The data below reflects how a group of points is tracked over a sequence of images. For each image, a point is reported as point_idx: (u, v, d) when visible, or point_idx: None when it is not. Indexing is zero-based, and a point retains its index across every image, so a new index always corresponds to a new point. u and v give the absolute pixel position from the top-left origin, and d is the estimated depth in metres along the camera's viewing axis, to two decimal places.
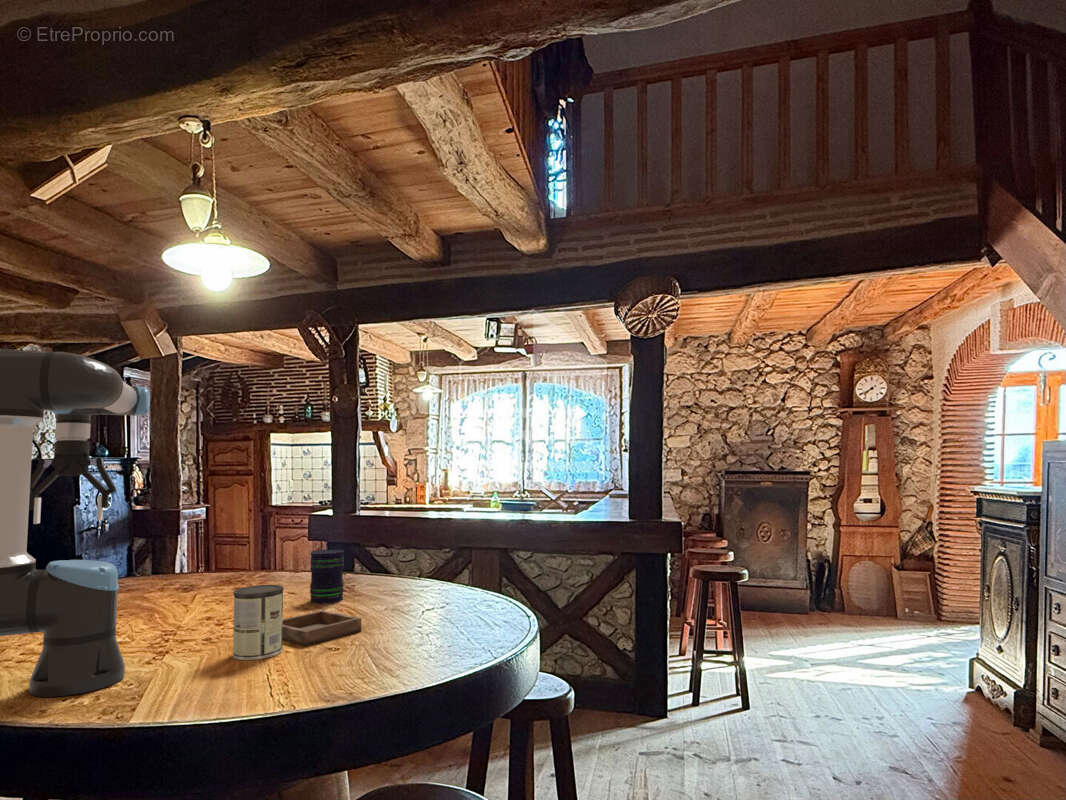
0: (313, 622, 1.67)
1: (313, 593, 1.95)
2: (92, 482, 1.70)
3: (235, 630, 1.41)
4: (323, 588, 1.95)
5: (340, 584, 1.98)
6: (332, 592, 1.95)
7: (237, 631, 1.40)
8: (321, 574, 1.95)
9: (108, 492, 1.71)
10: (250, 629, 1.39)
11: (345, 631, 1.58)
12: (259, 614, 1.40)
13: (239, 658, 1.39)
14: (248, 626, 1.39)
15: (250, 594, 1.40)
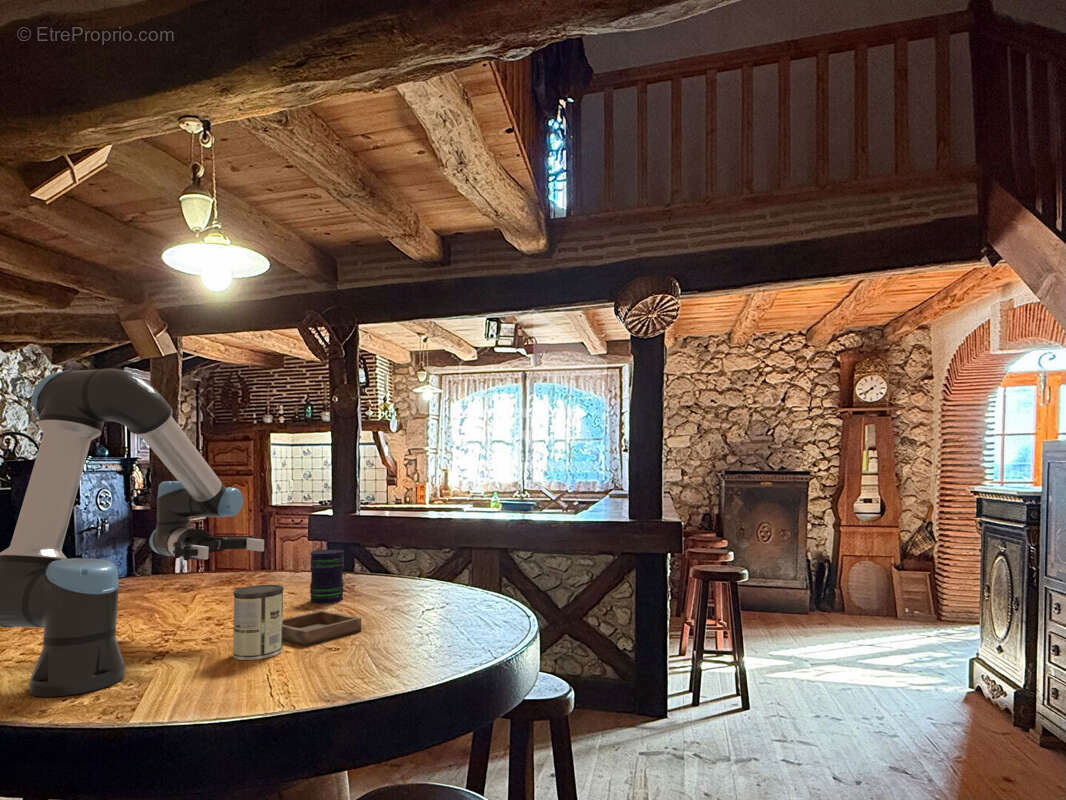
0: (313, 622, 1.67)
1: (313, 593, 1.95)
2: (233, 539, 1.62)
3: (235, 630, 1.41)
4: (323, 588, 1.95)
5: (340, 584, 1.98)
6: (332, 592, 1.95)
7: (237, 631, 1.40)
8: (322, 574, 1.95)
9: None
10: (251, 629, 1.39)
11: (345, 631, 1.58)
12: (259, 614, 1.40)
13: (239, 658, 1.39)
14: (248, 626, 1.39)
15: (250, 594, 1.40)
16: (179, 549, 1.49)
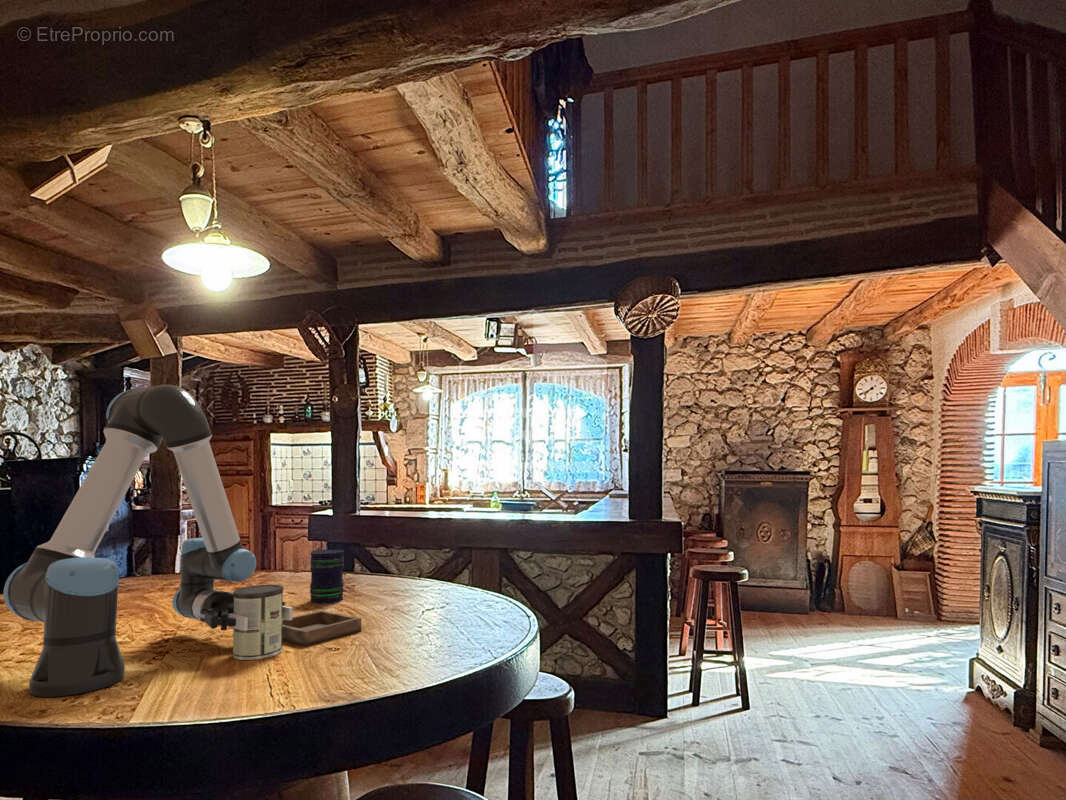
0: (313, 622, 1.67)
1: (313, 593, 1.95)
2: None
3: (235, 630, 1.41)
4: (323, 588, 1.95)
5: (340, 584, 1.98)
6: (332, 592, 1.95)
7: (237, 631, 1.40)
8: (321, 574, 1.95)
9: None
10: (250, 629, 1.39)
11: (345, 631, 1.58)
12: (259, 614, 1.40)
13: (239, 658, 1.39)
14: (248, 626, 1.39)
15: (250, 594, 1.40)
16: (216, 618, 1.40)
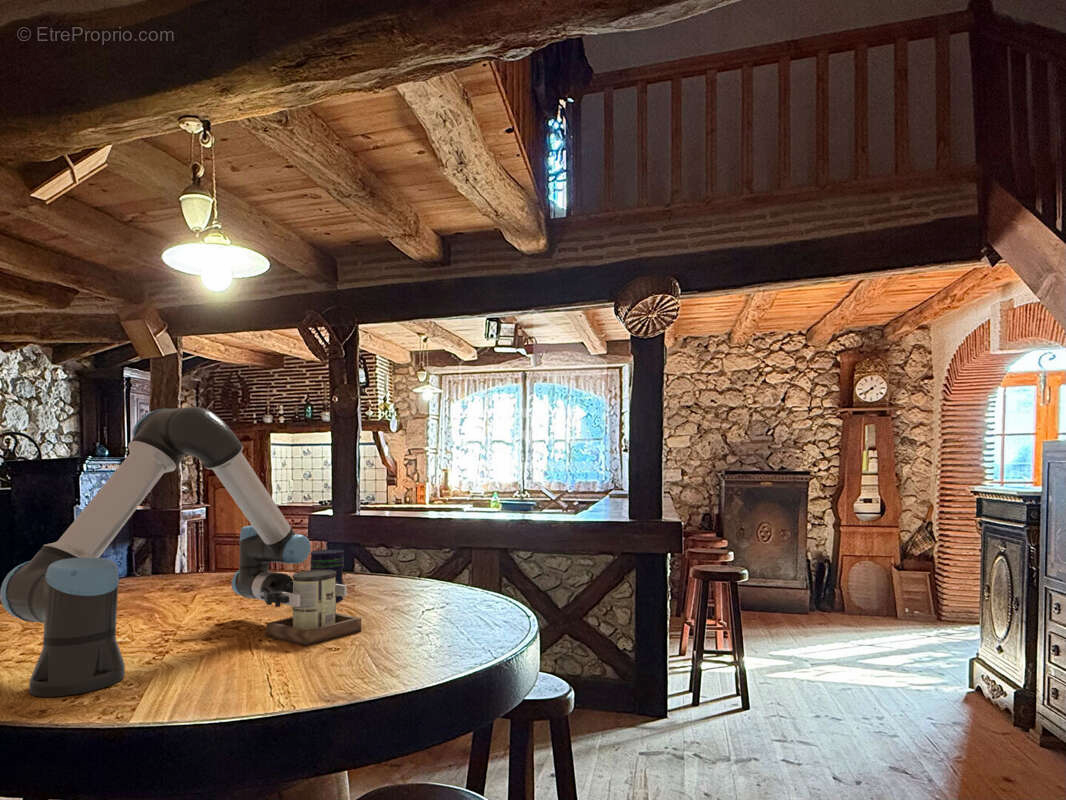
0: None
1: None
2: None
3: (295, 610, 1.57)
4: None
5: None
6: None
7: (297, 610, 1.56)
8: None
9: None
10: (309, 609, 1.55)
11: (345, 631, 1.58)
12: (317, 595, 1.56)
13: None
14: (307, 606, 1.55)
15: (308, 577, 1.56)
16: (271, 596, 1.56)
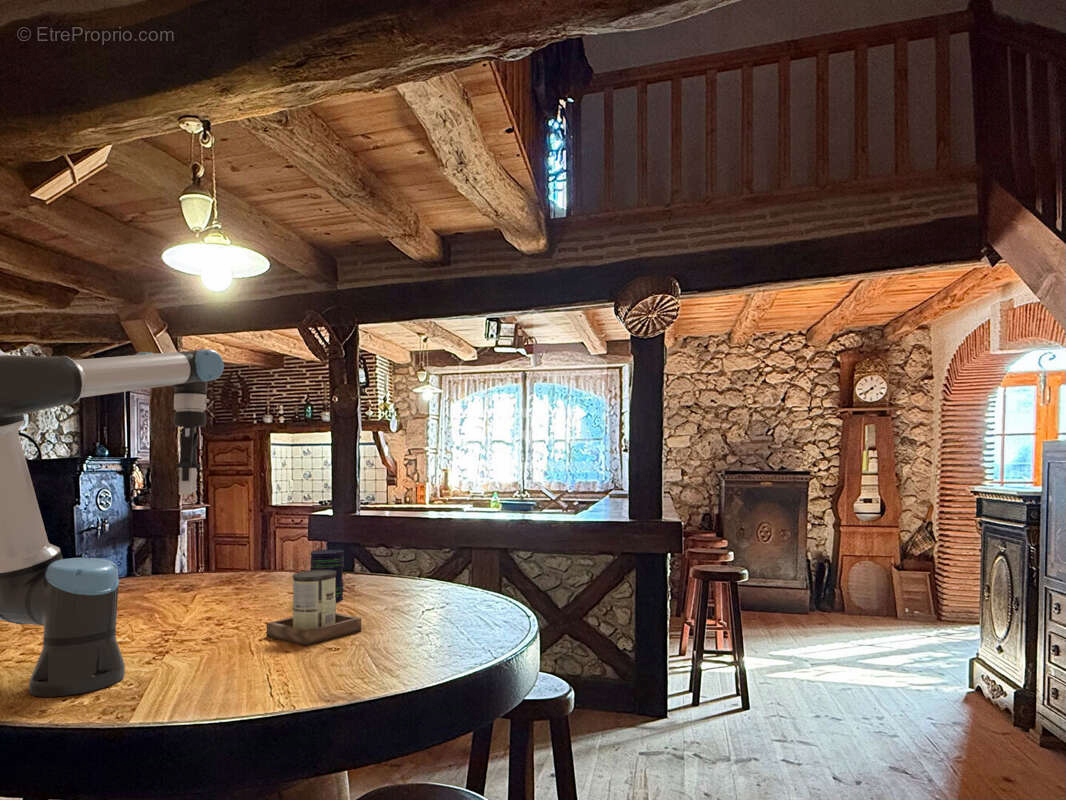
0: None
1: None
2: None
3: (295, 610, 1.57)
4: None
5: (340, 584, 1.98)
6: None
7: (297, 610, 1.56)
8: None
9: (182, 465, 1.59)
10: (309, 609, 1.55)
11: (345, 631, 1.58)
12: (317, 595, 1.56)
13: None
14: (307, 606, 1.55)
15: (308, 577, 1.56)
16: None
